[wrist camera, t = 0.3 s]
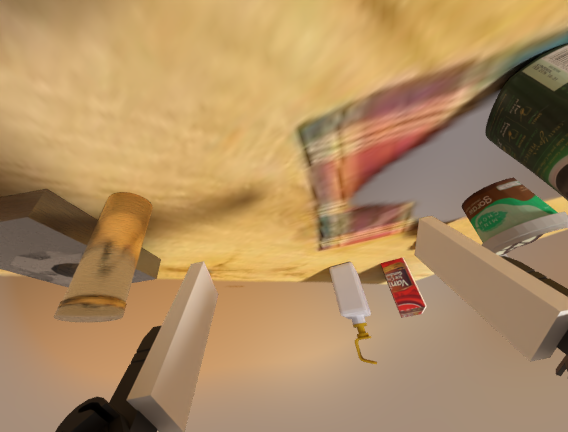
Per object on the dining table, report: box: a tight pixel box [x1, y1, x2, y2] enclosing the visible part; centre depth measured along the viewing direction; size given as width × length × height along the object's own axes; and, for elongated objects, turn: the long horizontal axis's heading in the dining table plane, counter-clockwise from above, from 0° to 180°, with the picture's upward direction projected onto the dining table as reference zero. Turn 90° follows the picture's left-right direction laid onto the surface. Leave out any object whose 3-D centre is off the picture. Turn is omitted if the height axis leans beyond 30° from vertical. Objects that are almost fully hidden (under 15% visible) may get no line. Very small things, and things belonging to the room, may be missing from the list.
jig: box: [0, 189, 161, 287], centre depth 33 cm, size 22×15×4 cm
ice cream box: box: [381, 257, 426, 317], centre depth 66 cm, size 20×6×13 cm, turn 27°
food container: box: [462, 178, 568, 257], centre depth 36 cm, size 12×6×10 cm, turn 7°
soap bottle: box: [329, 262, 377, 364], centre depth 57 cm, size 12×7×23 cm, turn 25°
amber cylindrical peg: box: [54, 192, 152, 322], centre depth 25 cm, size 5×5×14 cm
